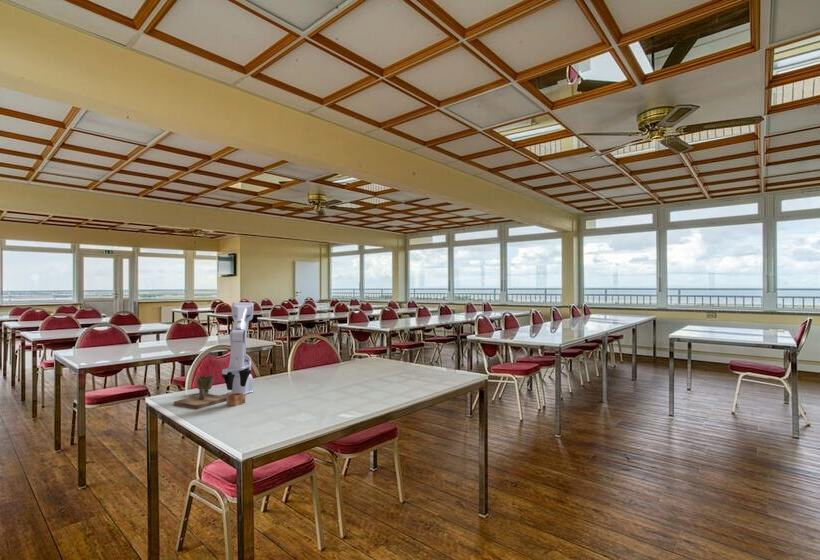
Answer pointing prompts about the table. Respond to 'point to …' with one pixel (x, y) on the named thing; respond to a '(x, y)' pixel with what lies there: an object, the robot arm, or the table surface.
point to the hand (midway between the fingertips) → (236, 388)
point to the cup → (204, 383)
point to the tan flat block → (200, 400)
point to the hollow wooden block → (236, 398)
